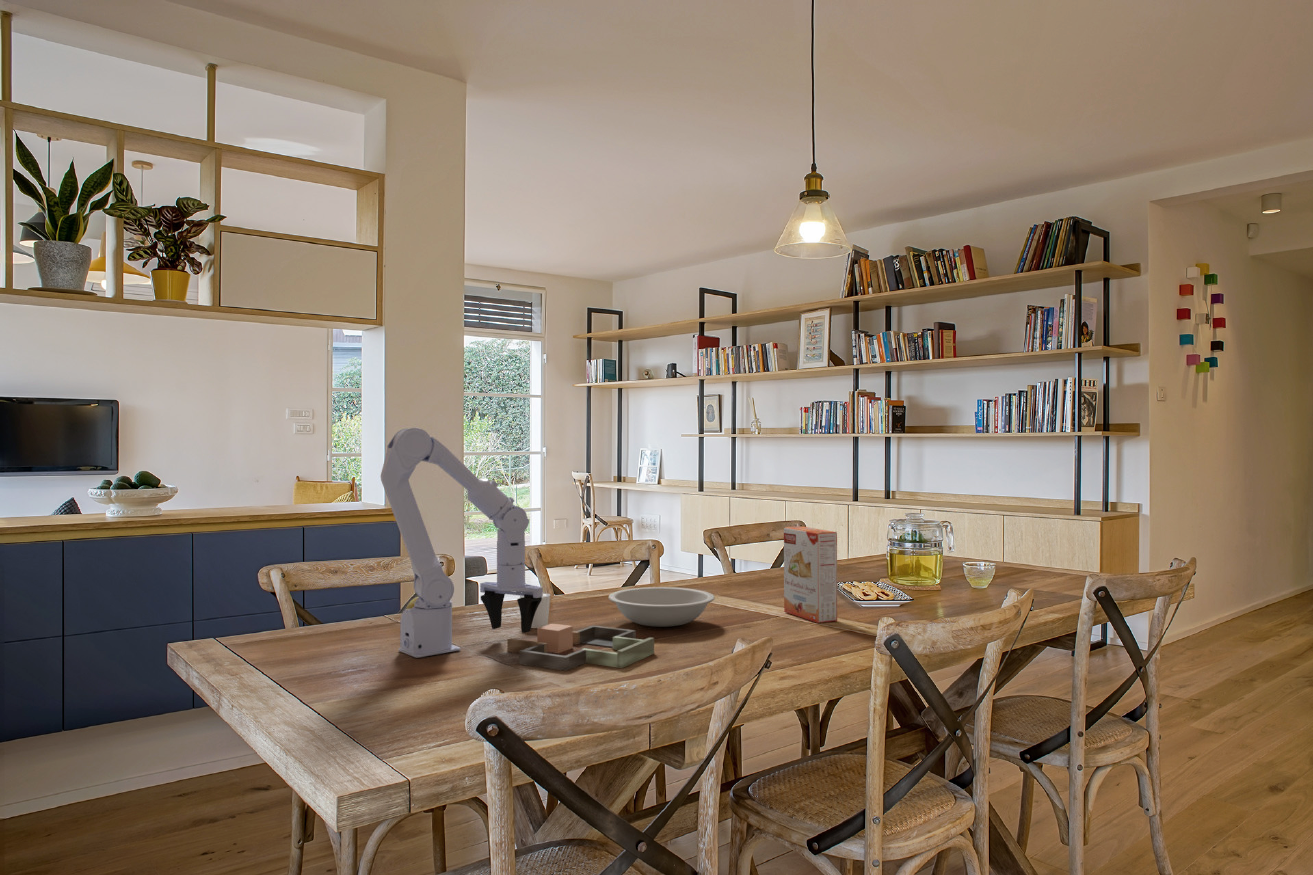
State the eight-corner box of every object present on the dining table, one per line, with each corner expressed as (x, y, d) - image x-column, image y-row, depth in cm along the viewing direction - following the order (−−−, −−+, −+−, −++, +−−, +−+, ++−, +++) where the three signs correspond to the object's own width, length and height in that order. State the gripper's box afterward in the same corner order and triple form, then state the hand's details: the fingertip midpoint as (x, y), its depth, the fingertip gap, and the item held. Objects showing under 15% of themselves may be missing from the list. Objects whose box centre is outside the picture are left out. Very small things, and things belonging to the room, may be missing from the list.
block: (537, 650, 167) (537, 628, 167) (551, 645, 171) (552, 623, 171) (558, 653, 164) (558, 630, 164) (572, 648, 169) (572, 625, 169)
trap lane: (486, 658, 160) (486, 642, 160) (562, 632, 182) (562, 618, 182) (603, 676, 148) (603, 659, 148) (669, 646, 170) (669, 631, 170)
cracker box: (782, 612, 205) (782, 526, 205) (803, 610, 207) (803, 525, 207) (816, 623, 192) (816, 531, 192) (838, 621, 195) (838, 530, 195)
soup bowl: (717, 637, 178) (717, 606, 179) (604, 636, 179) (604, 605, 179) (712, 614, 202) (712, 587, 203) (612, 614, 203) (612, 586, 203)
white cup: (553, 622, 192) (553, 592, 192) (546, 629, 186) (546, 597, 186) (524, 622, 193) (524, 591, 193) (516, 628, 186) (516, 597, 186)
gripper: (551, 563, 173) (551, 629, 173) (495, 559, 180) (495, 622, 180) (530, 567, 167) (531, 636, 167) (473, 563, 174) (473, 629, 174)
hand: (511, 629), depth 173 cm, fingers open, 7 cm apart
